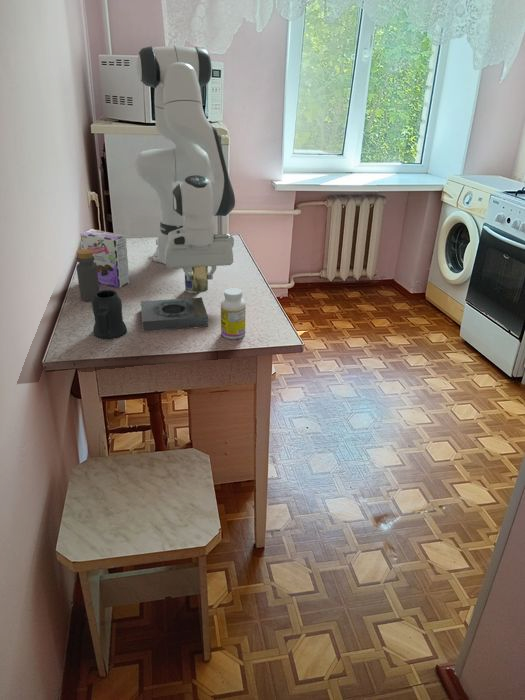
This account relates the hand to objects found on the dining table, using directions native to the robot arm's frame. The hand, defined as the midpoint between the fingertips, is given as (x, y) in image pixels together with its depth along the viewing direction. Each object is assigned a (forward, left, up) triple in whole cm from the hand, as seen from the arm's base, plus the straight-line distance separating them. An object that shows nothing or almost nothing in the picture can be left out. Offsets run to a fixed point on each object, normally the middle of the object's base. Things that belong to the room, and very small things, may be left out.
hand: (199, 279), depth 161 cm
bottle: (-8, -33, -8) cm, 35 cm away
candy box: (-21, -28, -8) cm, 36 cm away
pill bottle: (-9, -1, -8) cm, 12 cm away
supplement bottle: (+24, +6, -8) cm, 26 cm away
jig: (+11, -9, -7) cm, 16 cm away
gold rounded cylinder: (0, 0, -3) cm, 3 cm away
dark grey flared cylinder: (+18, -27, -8) cm, 33 cm away
